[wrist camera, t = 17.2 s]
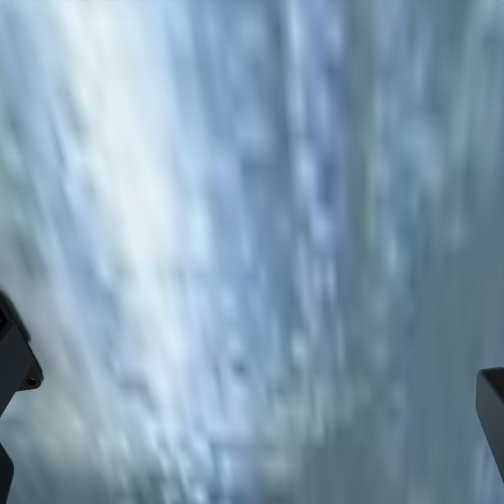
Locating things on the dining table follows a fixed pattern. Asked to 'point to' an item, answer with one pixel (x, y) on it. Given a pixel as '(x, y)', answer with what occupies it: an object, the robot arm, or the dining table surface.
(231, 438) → the dining table surface
